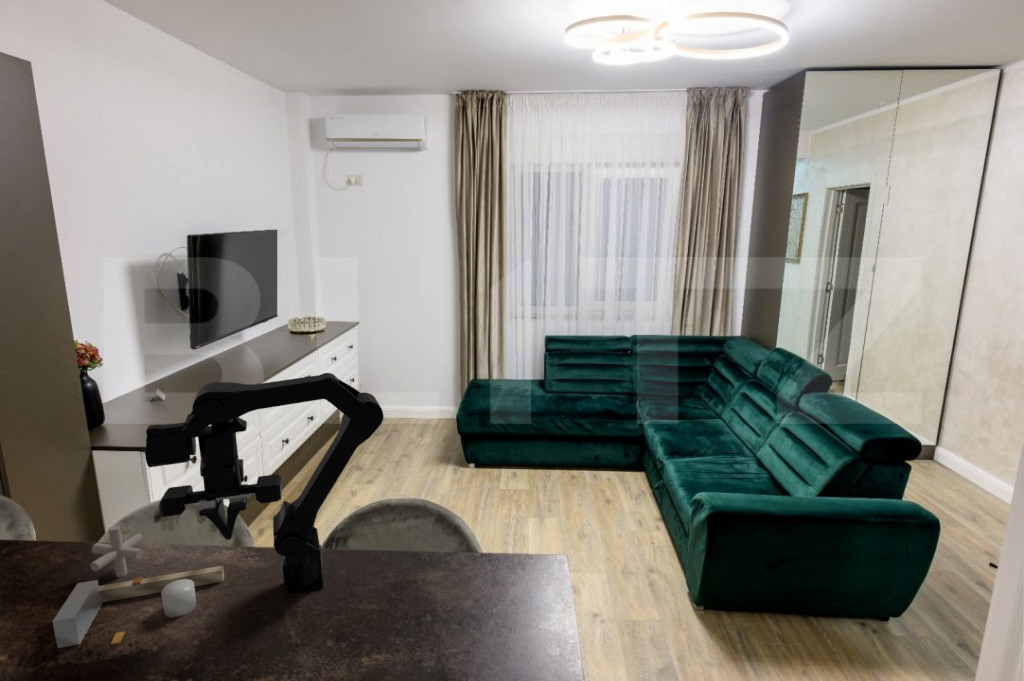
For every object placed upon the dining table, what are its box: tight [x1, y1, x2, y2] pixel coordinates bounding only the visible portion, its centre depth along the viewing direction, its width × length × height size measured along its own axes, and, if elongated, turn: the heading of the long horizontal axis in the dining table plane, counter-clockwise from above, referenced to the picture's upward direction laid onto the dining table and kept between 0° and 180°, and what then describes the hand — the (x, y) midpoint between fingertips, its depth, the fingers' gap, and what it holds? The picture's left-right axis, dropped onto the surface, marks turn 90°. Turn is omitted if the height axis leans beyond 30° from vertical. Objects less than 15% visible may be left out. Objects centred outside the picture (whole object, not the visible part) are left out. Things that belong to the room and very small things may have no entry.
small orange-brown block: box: [110, 631, 125, 646], centre depth 94 cm, size 1×2×1 cm, turn 18°
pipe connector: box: [89, 524, 145, 578], centre depth 109 cm, size 10×10×10 cm
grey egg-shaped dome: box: [160, 579, 197, 618], centre depth 101 cm, size 5×5×4 cm
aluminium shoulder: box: [52, 579, 103, 649], centre depth 96 cm, size 3×10×5 cm, turn 18°
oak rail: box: [99, 565, 225, 603], centre depth 105 cm, size 22×2×3 cm, turn 108°
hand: (229, 538), depth 101 cm, fingers closed
